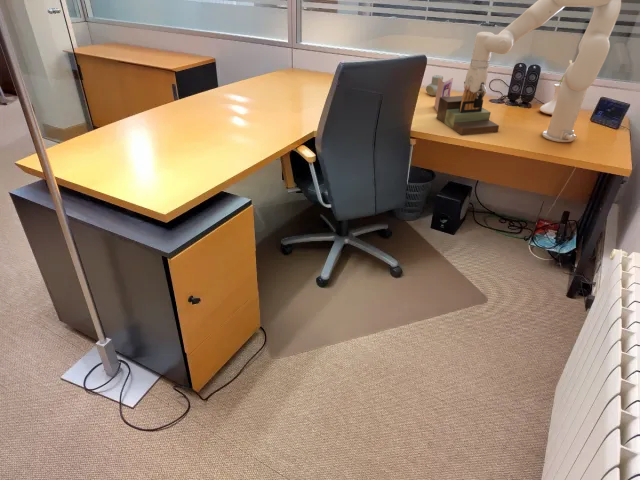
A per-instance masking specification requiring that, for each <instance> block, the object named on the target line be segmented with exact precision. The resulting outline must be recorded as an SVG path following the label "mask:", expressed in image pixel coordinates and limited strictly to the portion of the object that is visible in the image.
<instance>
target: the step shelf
mask: <svg viewBox="0 0 640 480" xmlns="http://www.w3.org/2000/svg"><path fill="white" fill-rule="evenodd" d="M462 97H463V95H452V96H451V95H450V97H440V100H439V106H438V112H437V111H436V112H437V113H436V119H437V120H439V121H440V122H441V123H443V124H444V125H446V126H447V127H449V128H451V129H452V130H453V131H455V132H456V133H458V134H459V135H461V136H467V135H468V136H469V135H479V134H489V133H490V134H491V133H498V131H499V127H500V125H499V124H497V123H496V122H494V121H492V120H490V117H491V113H492V112H491V111H490V110H487V109H485V108H484V107H482V111H480V112H467V113H460V112H459V108H460V104H461V101H462Z"/></svg>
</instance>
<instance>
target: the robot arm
mask: <svg viewBox="0 0 640 480" xmlns="http://www.w3.org/2000/svg"><path fill="white" fill-rule="evenodd" d="M567 7H568V8H578V7H579V8H580V7H593V12H592V14H591V17H590V20H589V23H588V24H587V27H586V29H585V32H584V33H583V35H582V38H581V40H580V41H579V43H578V54H577V55H576V58H575V59H574V61H572V64H570V65H568V67H567V68H566V70H565V71H564V73H563V75H564V77H563V76H562V77H563V82H561V84H562V85H561V89H560V92H559V96H558V99H557V102H556V105H555V108H554V111H553V114H552V115H551V118H550V121H549V124H548V128H547V130H544V131H542V132H541V133H542V134H541V136H542V137H543V138H545V140H546V139H547V140H549V141H552V142H556V143H557V142H558V143H570V142H573V141H575V139H577V138H578V136H577V135H576V134H575V130H574V127H575V125H576V122H577V119H578V116H579V114H580V111H581V108H582V104H583V103H584V99H585V96H586V94H587V90H588V89H589V88H590V87H591V86H592V85H593V84H594V82H595V81H596V80H597V77H598V75H599V73H600V71H601V69H602V67H603V65H604V63H605V61H606V59H607V57H608V55H609V52H610V47H611V43H610V40H609V38H610V36H611V34H612V32H613V30H614V27H615V25H616V23H617V20H618V18H619V16H620V13H621V8H622V0H537V1H536V2H534V3H533V4H532V5H530V6H529V7H528V8H527V9H525V10H524V11H523V13H521V14H520V15H519V16H518V17H517V18H515V19H514V20H513V21H512V22H510V23H509V24H508V25H507V26H506V27H505V28H503V29H502V30H501V31H500V32H499V33H497V34H495V33H493V32H490V31H479V32H477V33H476V35H475V39H474V44H473V49H472V53H471V54H472V55H471V59H470V65H469V67H468V69H467V71H466V76H465V79H464V81H463V87H464V89H465V87H466V85H467V91H468V88H469V86H470V93H471V92H473V93H475V94H476V98H475V100H474V105H473V107H474V108H479V107H480V105H481V100H482V98H483V99H484V97H485V95H486V94H487V89H486V86H487V80H488V72H489V71H488V70H489V65H490V62H491V57H492V53H493V54H499V55H505V54H507V53H509V52H510V51H511V50H512V48H513V45H514V44H516V43H517V42H518V41H519V40H521V38H523V37H524V36H526V35H527V34H529V33H530V32H531V31H533V30H536V29H538V28H540V27H542V26H543V25H545V23H547V22H548V21H549V20H551V18H553V17H554V16H555V15H557V14H558V13H559V12H560V11H562V10H563V9H564V8H567ZM464 89H463V90H464ZM478 93H480V94H479V95H478Z"/></svg>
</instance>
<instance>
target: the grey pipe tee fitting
mask: <svg viewBox="0 0 640 480" xmlns="http://www.w3.org/2000/svg"><path fill="white" fill-rule="evenodd" d="M439 77H440V78H441V80H442V81H443V82H444V76H443V75H438V74H436V75H435V74H434V75H432V77H431V83H429V84H427V86H426V87H425V92H426V93H427V94H428V95H429V96H431V97H436V93H437V86H438V80H439Z"/></svg>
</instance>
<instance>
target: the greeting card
mask: <svg viewBox="0 0 640 480" xmlns="http://www.w3.org/2000/svg"><path fill="white" fill-rule="evenodd" d="M453 80H454V78H453V77H452V78H450V79H448V80H445V81H444V80H443V81H442V80H441V78H440V77H439V80H438V86H437V93H436V96H435V99H434V106H433V107H434V109H435V110H436V112H438V106H439V100H440V97H450V96H451V92H452V86H453Z"/></svg>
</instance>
